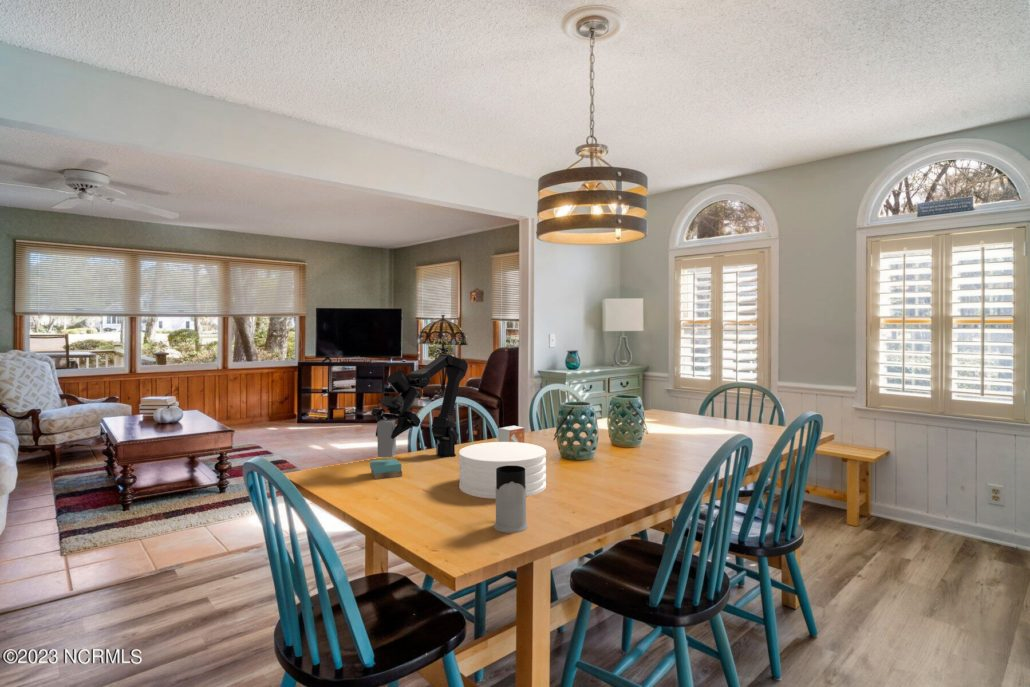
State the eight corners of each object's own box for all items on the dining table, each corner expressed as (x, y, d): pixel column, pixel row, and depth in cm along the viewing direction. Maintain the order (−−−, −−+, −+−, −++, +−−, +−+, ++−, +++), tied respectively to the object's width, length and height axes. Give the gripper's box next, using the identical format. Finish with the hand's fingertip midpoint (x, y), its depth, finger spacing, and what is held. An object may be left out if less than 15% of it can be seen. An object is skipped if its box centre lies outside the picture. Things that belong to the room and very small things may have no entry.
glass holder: (494, 533, 143) (494, 474, 142) (492, 514, 157) (492, 460, 156) (529, 532, 143) (529, 473, 143) (524, 513, 158) (523, 459, 157)
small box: (509, 465, 211) (509, 430, 210) (498, 462, 216) (497, 427, 215) (525, 461, 217) (524, 427, 216) (513, 458, 221) (513, 425, 221)
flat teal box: (396, 471, 204) (396, 465, 204) (402, 478, 196) (401, 471, 196) (371, 474, 201) (371, 467, 201) (375, 481, 192) (375, 474, 192)
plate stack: (490, 470, 204) (490, 438, 204) (560, 481, 190) (560, 447, 189) (441, 490, 180) (441, 454, 179) (518, 504, 166) (518, 465, 165)
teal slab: (395, 465, 204) (395, 458, 204) (401, 470, 196) (401, 463, 196) (370, 467, 201) (369, 461, 201) (374, 473, 192) (374, 466, 192)
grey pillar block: (396, 453, 200) (395, 419, 200) (392, 457, 195) (391, 422, 195) (381, 453, 200) (381, 419, 200) (377, 457, 195) (377, 422, 195)
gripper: (374, 385, 205) (351, 421, 196) (414, 388, 196) (393, 425, 186) (389, 404, 212) (368, 439, 203) (429, 408, 203) (409, 445, 194)
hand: (384, 437), depth 196 cm, fingers closed on grey pillar block, 7 cm apart
